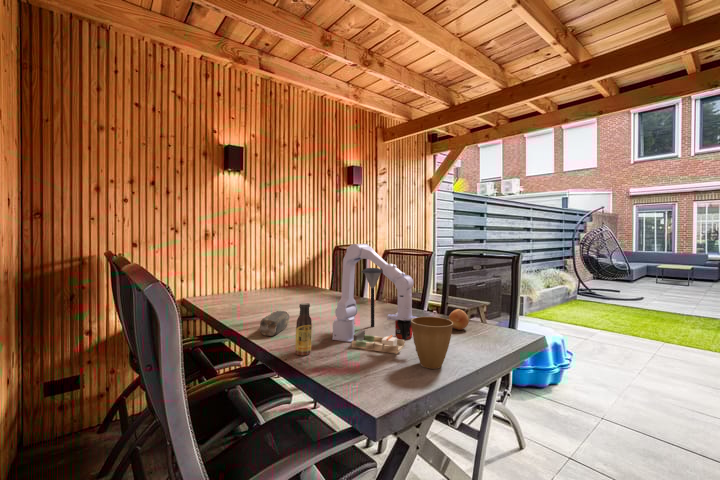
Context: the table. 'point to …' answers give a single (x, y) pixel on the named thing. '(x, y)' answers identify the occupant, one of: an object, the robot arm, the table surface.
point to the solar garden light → (372, 286)
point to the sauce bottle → (303, 331)
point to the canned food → (398, 332)
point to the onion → (459, 319)
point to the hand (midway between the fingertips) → (404, 338)
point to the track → (375, 343)
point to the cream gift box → (389, 340)
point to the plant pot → (431, 340)
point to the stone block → (274, 323)
